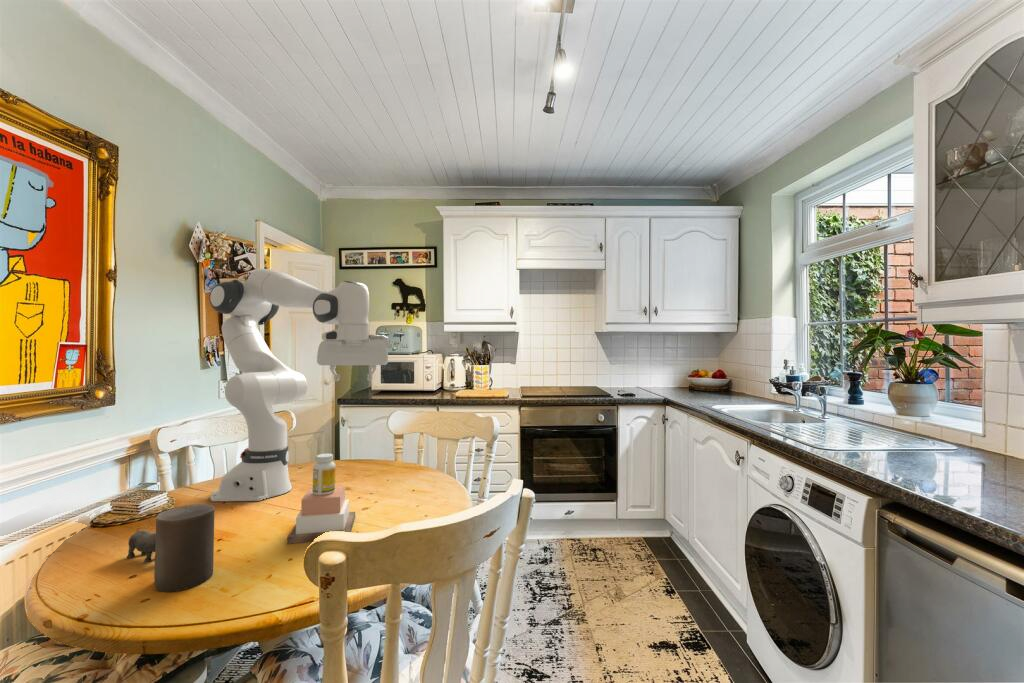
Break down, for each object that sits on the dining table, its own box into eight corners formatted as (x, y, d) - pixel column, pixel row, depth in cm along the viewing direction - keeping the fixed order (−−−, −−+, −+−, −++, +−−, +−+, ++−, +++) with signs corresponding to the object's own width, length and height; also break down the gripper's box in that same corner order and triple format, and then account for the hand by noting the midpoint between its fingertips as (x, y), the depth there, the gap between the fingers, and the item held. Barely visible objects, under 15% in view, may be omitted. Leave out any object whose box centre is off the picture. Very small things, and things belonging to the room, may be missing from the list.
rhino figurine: (166, 569, 94) (166, 540, 94) (122, 559, 99) (122, 532, 99) (185, 560, 98) (186, 533, 98) (142, 551, 102) (142, 525, 103)
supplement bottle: (308, 495, 112) (309, 457, 113) (318, 489, 118) (318, 452, 118) (330, 495, 112) (330, 457, 113) (338, 489, 118) (338, 452, 118)
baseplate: (287, 543, 107) (287, 537, 107) (300, 521, 120) (300, 515, 120) (349, 538, 110) (349, 532, 110) (355, 517, 123) (355, 511, 123)
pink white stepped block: (295, 534, 108) (296, 501, 108) (305, 517, 119) (305, 487, 119) (343, 530, 111) (344, 497, 111) (348, 514, 122) (349, 484, 122)
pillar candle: (200, 589, 86) (202, 511, 87) (142, 595, 84) (144, 515, 85) (221, 566, 96) (223, 496, 96) (170, 570, 94) (172, 498, 94)
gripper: (389, 335, 140) (389, 379, 140) (320, 334, 135) (319, 380, 135) (389, 334, 134) (388, 380, 133) (316, 333, 129) (315, 381, 129)
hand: (353, 380), depth 134 cm, fingers open, 8 cm apart
